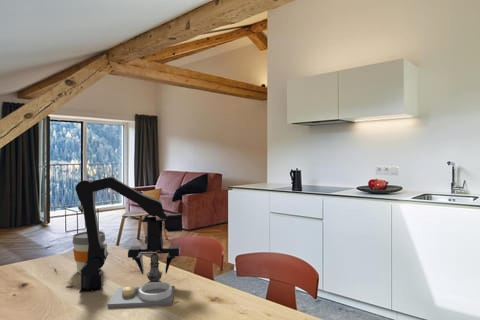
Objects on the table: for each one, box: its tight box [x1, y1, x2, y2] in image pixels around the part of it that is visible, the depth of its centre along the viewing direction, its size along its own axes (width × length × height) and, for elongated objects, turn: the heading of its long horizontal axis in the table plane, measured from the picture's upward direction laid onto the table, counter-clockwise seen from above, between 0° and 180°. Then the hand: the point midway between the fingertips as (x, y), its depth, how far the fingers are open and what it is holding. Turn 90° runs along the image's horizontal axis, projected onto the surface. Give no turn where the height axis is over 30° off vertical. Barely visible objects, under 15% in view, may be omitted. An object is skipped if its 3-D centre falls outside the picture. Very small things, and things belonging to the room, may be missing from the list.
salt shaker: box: [146, 254, 163, 284], centre depth 128 cm, size 6×6×12 cm
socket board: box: [107, 281, 176, 309], centre depth 115 cm, size 20×13×3 cm, turn 97°
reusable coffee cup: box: [72, 230, 106, 274], centre depth 142 cm, size 13×13×15 cm
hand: (154, 273), depth 128 cm, fingers closed on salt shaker, 8 cm apart
